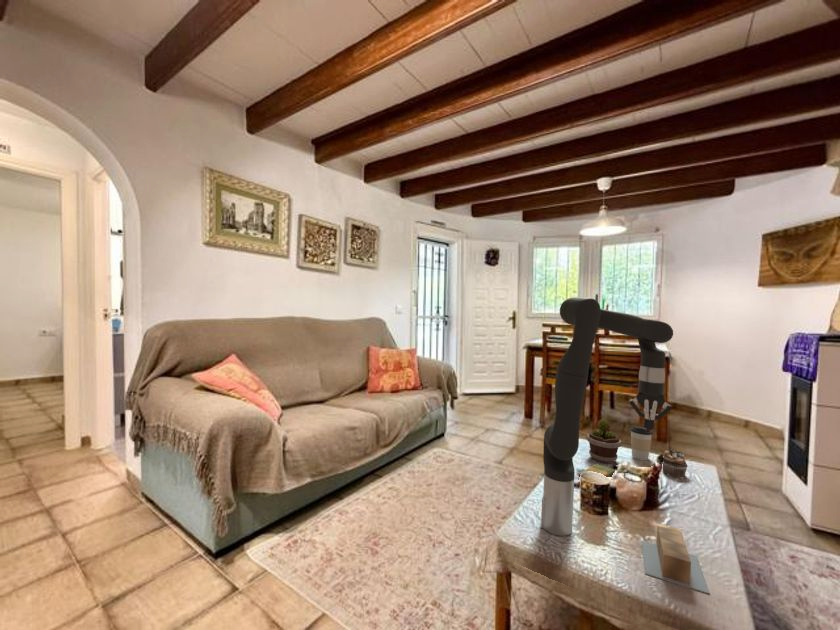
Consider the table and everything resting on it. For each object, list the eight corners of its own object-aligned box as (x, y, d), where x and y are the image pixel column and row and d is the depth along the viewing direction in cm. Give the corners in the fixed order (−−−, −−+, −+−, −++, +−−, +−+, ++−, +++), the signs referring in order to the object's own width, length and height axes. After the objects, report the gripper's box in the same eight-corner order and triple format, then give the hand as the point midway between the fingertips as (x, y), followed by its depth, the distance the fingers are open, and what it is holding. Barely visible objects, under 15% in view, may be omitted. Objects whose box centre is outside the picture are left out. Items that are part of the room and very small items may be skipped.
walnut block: (656, 542, 113) (662, 576, 99) (657, 523, 113) (663, 554, 99) (679, 549, 110) (689, 584, 96) (680, 529, 110) (691, 562, 96)
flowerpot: (619, 469, 165) (621, 425, 164) (582, 460, 173) (584, 418, 173) (622, 458, 177) (624, 417, 176) (587, 450, 185) (589, 411, 185)
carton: (577, 482, 152) (578, 472, 152) (595, 472, 162) (595, 462, 162) (598, 490, 145) (598, 480, 145) (615, 479, 156) (615, 469, 156)
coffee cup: (630, 451, 186) (631, 422, 185) (651, 456, 180) (653, 426, 180) (628, 457, 178) (629, 427, 178) (650, 462, 173) (651, 431, 173)
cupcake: (655, 470, 164) (657, 448, 164) (668, 467, 169) (669, 445, 168) (679, 480, 156) (680, 457, 155) (691, 476, 160) (692, 453, 160)
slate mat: (645, 574, 100) (645, 573, 100) (641, 541, 114) (641, 540, 114) (709, 594, 93) (709, 593, 93) (696, 556, 107) (697, 555, 107)
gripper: (630, 378, 126) (626, 429, 126) (676, 384, 120) (673, 436, 120) (628, 375, 132) (626, 423, 133) (673, 380, 126) (669, 430, 127)
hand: (648, 429), depth 126 cm, fingers closed
